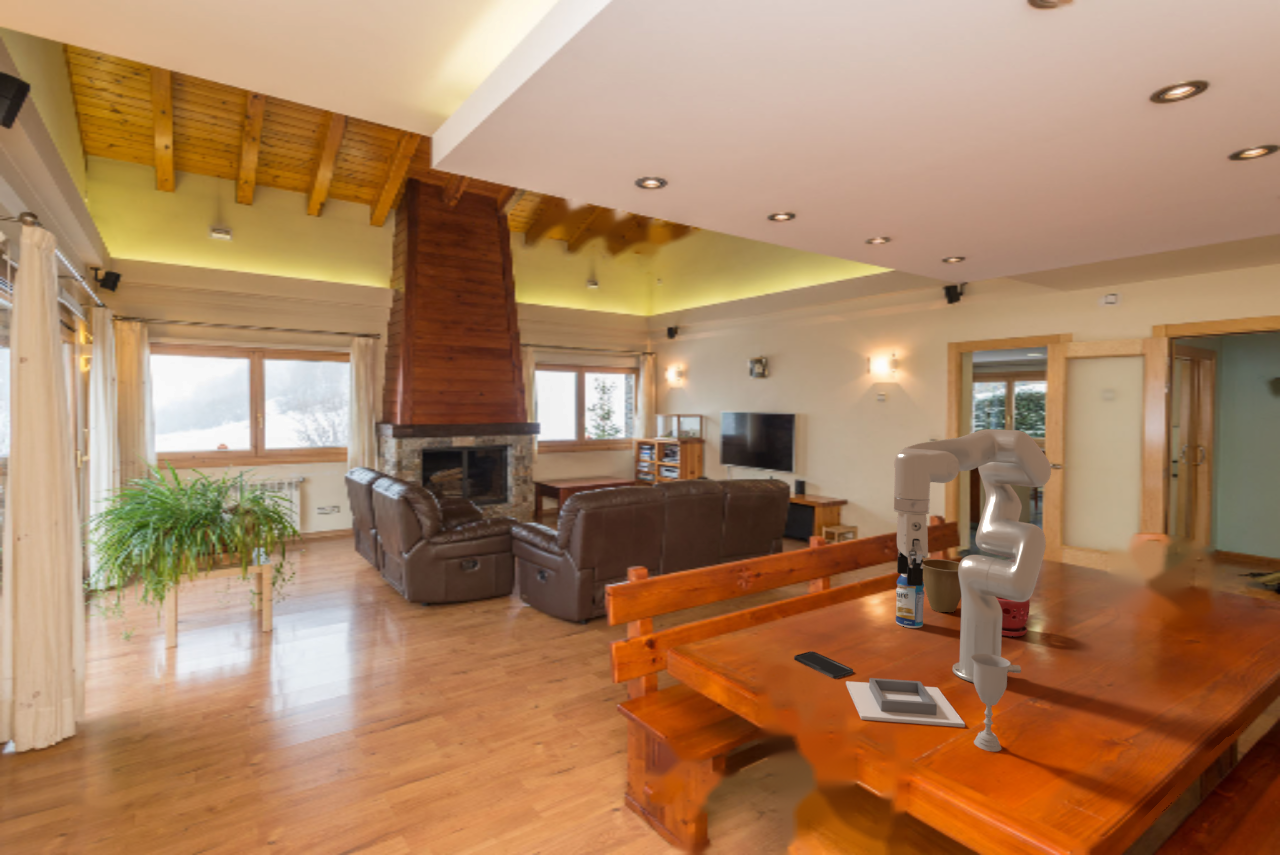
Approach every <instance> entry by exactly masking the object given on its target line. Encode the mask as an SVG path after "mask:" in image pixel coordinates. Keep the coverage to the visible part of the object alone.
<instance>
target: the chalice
mask: <svg viewBox="0 0 1280 855" xmlns="http://www.w3.org/2000/svg"><path fill="white" fill-rule="evenodd" d="M971 658H972V660H973V662H974V674H973V682H974V683H973V682H972V683H973V684H974V687H975V691H976V693H977V694H978V697H979V699H980V701H981V702H982V703H983V704H985V706H986V709H985V711H984V716H985V719H984V720H983V722H984V725H985V728H984V730H980V731H979V732H978V733H977V736H976V737H975V739H974V740H973V744H974V745H975V746H976V747H978V748H979V749H981V750H984V751H987V752H999V751H1001V750H1002V746H1001V743H1000V741H999V739H998V738H999V737H998V736H997V735H996V734H995V733H994V732H993V731H992V725H993V724H994V722H993V720H992V716H994V714H993V710H992V706H996V705H997V704H998V703H999V701H1000V700H1001V698H1002V697H1003V695H1004V693H1005V692H1006V689H1007V688H1008V687H1007V686H1008V682H1007V681H1008V673H1007V668H1008V667H1009V666H1010V663H1011V661H1009V660H1008V659H1006V658H1005V657H1002V656H1001V657H999V656H995V655H990V654H975V655H972V656H971Z"/></svg>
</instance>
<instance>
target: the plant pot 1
mask: <svg viewBox="0 0 1280 855" xmlns="http://www.w3.org/2000/svg"><path fill="white" fill-rule="evenodd" d="M959 564H960V562H958V561H953V560H947V559H938V558H937V559H935V558H934V559H933V558H931V559H924V560H923V582H924V589H925V590H924V591H925V593H926V597H927V600H928V603H929V607H930V608H931V610H932V609H933V610H932V611H934V610H935V611H934V612H937V611H939V612H938V613H941V612H953V613H955V612H956V610H957V608H958V605H959V604H960V600H961V588H960V582H959V576H958V567H959ZM954 611H955V612H954Z"/></svg>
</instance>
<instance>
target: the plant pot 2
mask: <svg viewBox="0 0 1280 855" xmlns="http://www.w3.org/2000/svg"><path fill="white" fill-rule="evenodd" d="M995 597H996V596H995ZM996 598H997V600H998V602H999V604H1000V606H1001V609H1002V636H1005V637H1012V636H1013V638H1014V637H1021V636H1024V635H1026V634H1027V632H1028V627H1026V626H1025V625H1026V624H1027V621H1028V620H1029V619H1028V618H1029V615H1030V598H1029V599H1028V600H1027V601H1024V602H1017V601H1012V600H1008V599H1004V598H1000V597H996Z"/></svg>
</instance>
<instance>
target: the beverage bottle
mask: <svg viewBox="0 0 1280 855" xmlns="http://www.w3.org/2000/svg"><path fill="white" fill-rule="evenodd" d="M896 585H897V587H896V589H895V593H896V606H895V610H896V612H895V622H896V624H897V625H899V626H901V627H903V626H904V627H905V628H910V629H918V628H922V627H923V625H924V597H925V590H924V589H925V585H924V581H923V585H922V586H913V585H908V584H907V574H899V576H898V578H897V580H896Z"/></svg>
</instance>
